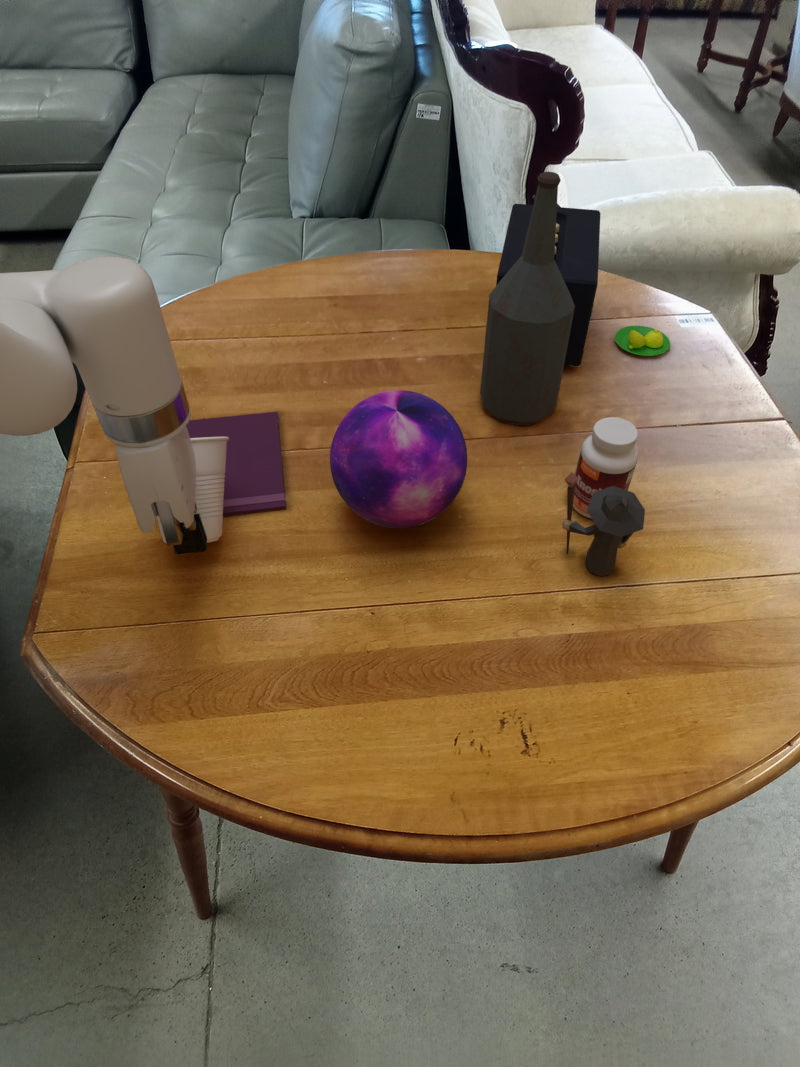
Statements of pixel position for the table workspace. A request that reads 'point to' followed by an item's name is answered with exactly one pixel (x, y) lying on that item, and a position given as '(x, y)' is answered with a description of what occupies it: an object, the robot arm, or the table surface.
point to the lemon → (642, 340)
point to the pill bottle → (605, 460)
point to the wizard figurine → (605, 524)
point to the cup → (209, 484)
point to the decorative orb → (398, 459)
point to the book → (248, 460)
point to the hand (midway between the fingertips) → (192, 547)
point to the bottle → (528, 323)
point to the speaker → (564, 263)
